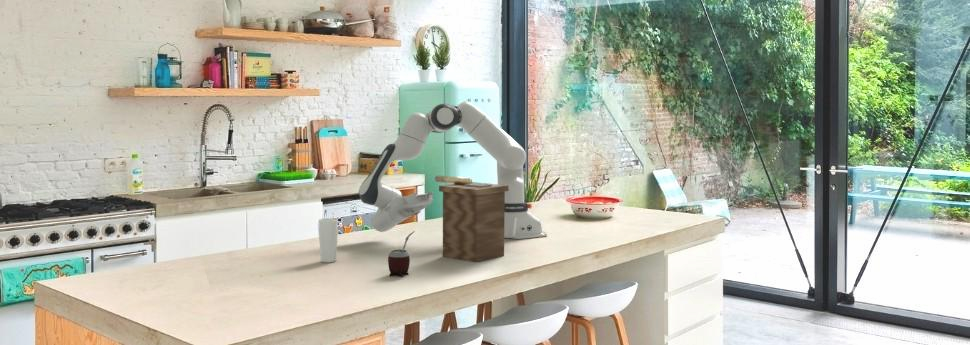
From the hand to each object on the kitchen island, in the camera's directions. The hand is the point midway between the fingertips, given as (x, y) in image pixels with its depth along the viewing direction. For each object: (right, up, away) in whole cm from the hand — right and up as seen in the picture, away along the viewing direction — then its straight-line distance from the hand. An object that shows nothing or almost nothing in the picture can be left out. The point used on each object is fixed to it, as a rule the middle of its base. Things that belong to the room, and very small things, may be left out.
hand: (423, 193), depth 334 cm
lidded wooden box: (+19, -23, -14) cm, 33 cm away
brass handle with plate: (+15, +4, -13) cm, 20 cm away
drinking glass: (-32, -24, -26) cm, 47 cm away
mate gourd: (-4, -26, -47) cm, 54 cm away
